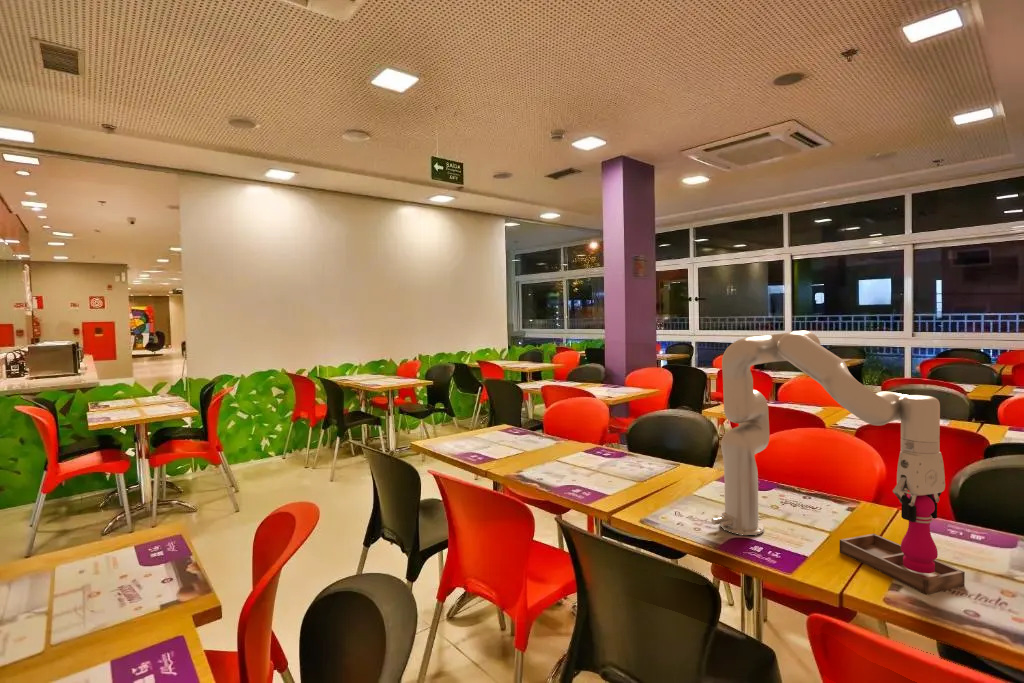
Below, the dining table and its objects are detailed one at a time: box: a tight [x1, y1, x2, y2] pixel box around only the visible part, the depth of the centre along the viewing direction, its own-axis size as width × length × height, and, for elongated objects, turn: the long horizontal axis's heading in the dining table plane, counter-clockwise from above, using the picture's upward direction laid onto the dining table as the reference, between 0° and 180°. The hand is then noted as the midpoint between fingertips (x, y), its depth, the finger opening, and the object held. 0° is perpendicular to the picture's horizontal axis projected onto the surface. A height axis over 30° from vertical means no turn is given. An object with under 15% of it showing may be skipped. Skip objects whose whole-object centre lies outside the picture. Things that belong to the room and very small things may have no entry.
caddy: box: [839, 533, 966, 596], centre depth 135 cm, size 12×23×4 cm, turn 15°
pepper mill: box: [900, 494, 939, 573], centre depth 129 cm, size 7×7×20 cm
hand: (919, 517), depth 129 cm, fingers closed on pepper mill, 6 cm apart
